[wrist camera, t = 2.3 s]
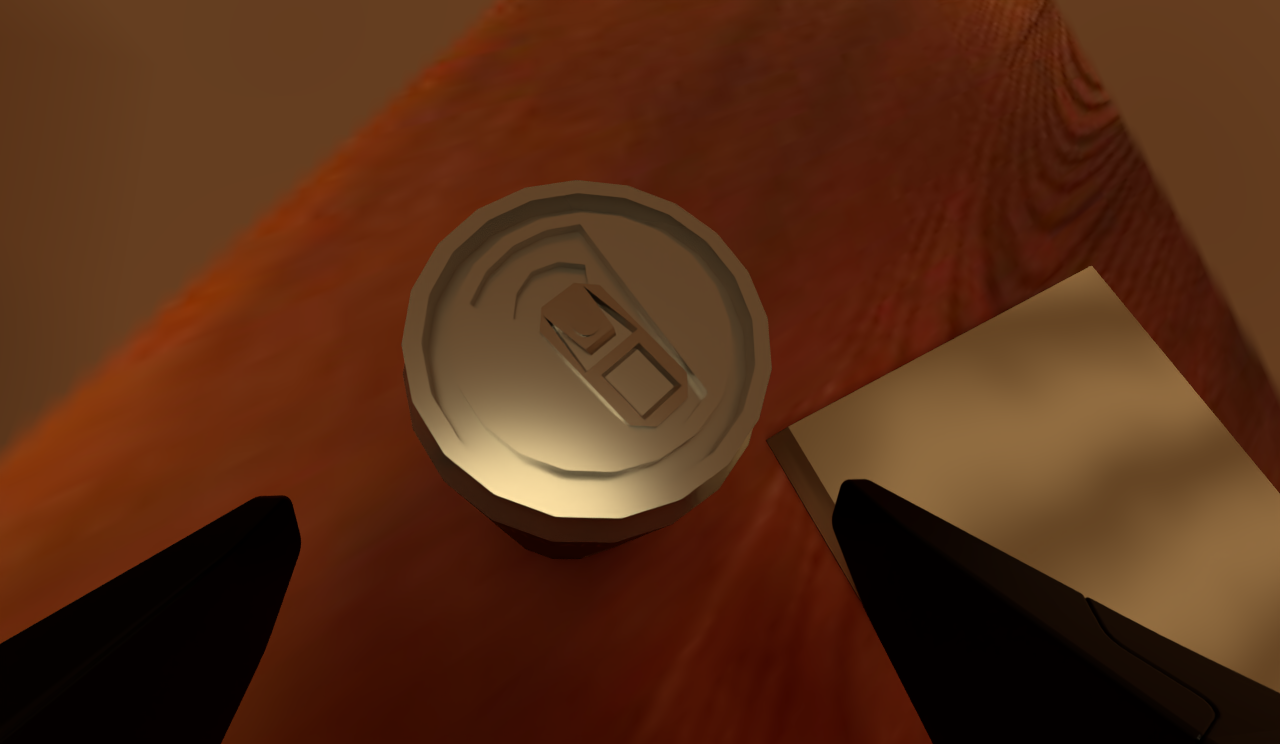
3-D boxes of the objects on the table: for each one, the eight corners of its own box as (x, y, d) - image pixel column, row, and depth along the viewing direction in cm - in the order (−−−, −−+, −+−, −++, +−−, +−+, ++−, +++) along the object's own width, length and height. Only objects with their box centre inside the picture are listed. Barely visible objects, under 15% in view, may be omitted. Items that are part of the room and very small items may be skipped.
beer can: (679, 480, 19) (861, 349, 8) (563, 597, 17) (583, 647, 6) (575, 372, 20) (605, 112, 9) (453, 472, 18) (289, 309, 7)
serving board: (1321, 630, 21) (1397, 636, 19) (1045, 915, 16) (1110, 961, 14) (1050, 288, 24) (1091, 265, 23) (766, 440, 20) (788, 426, 18)
